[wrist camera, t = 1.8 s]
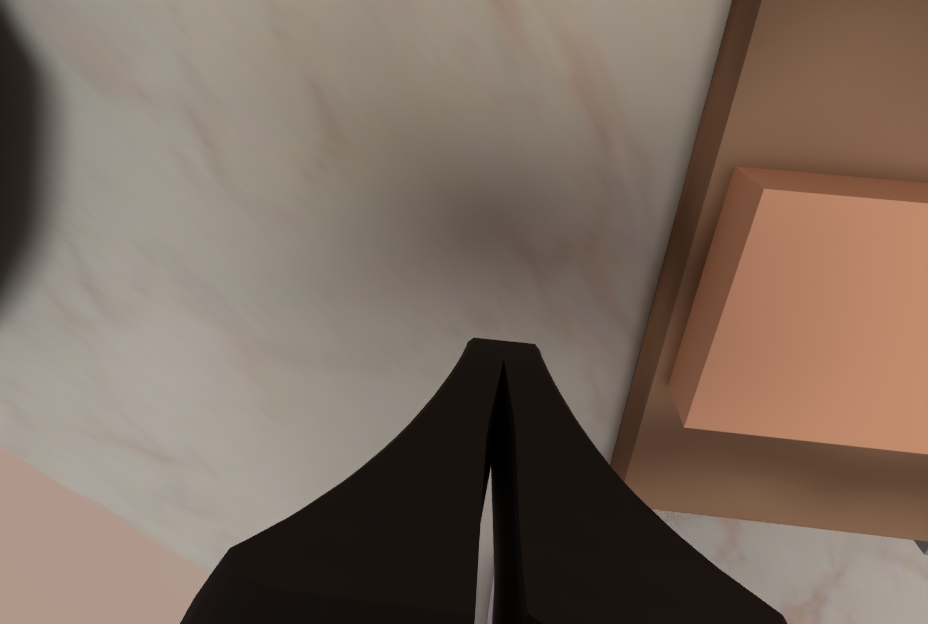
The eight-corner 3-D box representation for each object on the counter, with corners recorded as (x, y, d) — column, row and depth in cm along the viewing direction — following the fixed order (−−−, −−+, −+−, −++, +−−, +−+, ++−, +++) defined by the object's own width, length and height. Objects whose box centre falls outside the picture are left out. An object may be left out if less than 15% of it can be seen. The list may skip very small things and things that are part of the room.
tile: (995, 420, 17) (1048, 467, 16) (668, 385, 18) (684, 427, 16) (1146, 202, 14) (1235, 231, 12) (734, 166, 14) (764, 189, 13)
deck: (922, 501, 22) (957, 544, 20) (610, 465, 22) (617, 505, 20) (1289, -52, 13) (1409, -60, 11) (755, -87, 13) (789, -99, 12)
